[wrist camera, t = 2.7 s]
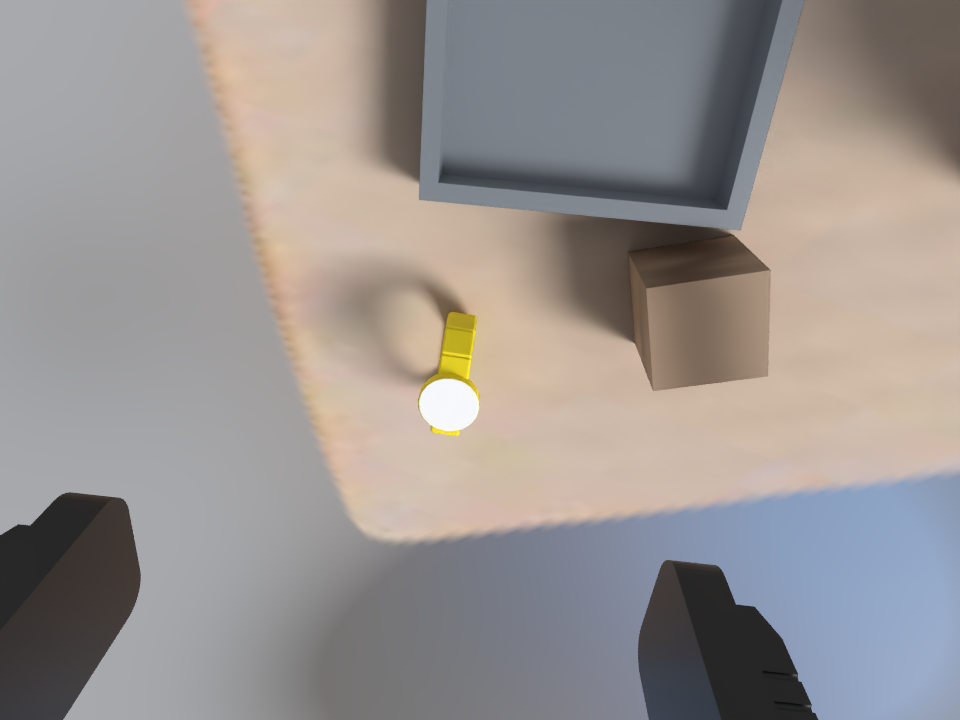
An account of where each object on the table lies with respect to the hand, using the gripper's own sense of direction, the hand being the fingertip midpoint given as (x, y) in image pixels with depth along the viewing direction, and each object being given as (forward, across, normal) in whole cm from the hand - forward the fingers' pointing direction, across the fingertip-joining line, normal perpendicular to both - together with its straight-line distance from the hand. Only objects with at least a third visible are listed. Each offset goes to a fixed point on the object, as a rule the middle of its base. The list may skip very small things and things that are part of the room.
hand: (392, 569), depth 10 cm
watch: (+24, 0, +8) cm, 25 cm away
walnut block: (+23, -11, +3) cm, 26 cm away
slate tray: (+23, -5, -8) cm, 25 cm away
